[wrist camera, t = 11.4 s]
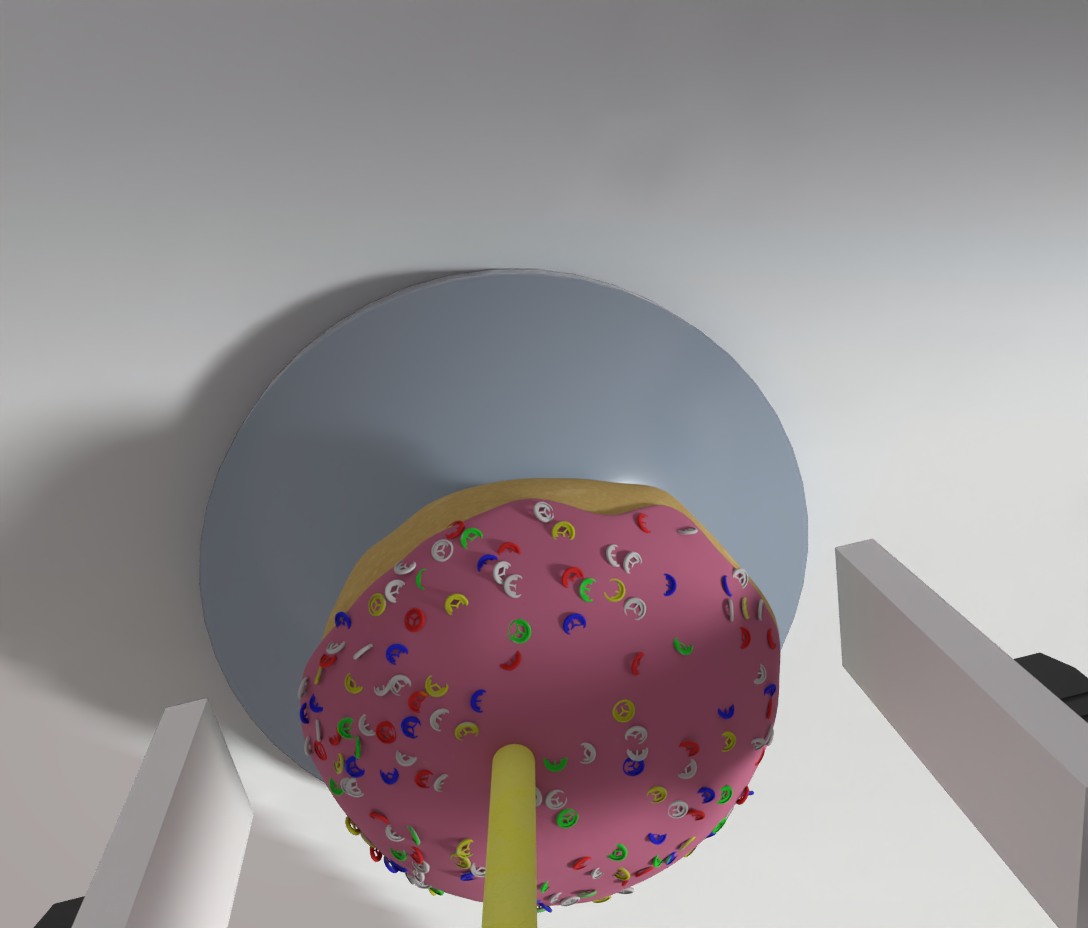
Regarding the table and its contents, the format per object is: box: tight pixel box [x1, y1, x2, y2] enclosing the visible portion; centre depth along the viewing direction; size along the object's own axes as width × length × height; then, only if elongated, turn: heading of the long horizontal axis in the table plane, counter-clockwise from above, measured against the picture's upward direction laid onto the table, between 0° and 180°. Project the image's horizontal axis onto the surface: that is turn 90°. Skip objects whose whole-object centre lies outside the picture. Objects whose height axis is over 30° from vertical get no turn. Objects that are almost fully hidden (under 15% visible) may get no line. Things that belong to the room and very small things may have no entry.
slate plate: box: [200, 269, 808, 783], centre depth 20 cm, size 14×14×1 cm
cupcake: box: [298, 478, 780, 928], centre depth 14 cm, size 9×8×12 cm
